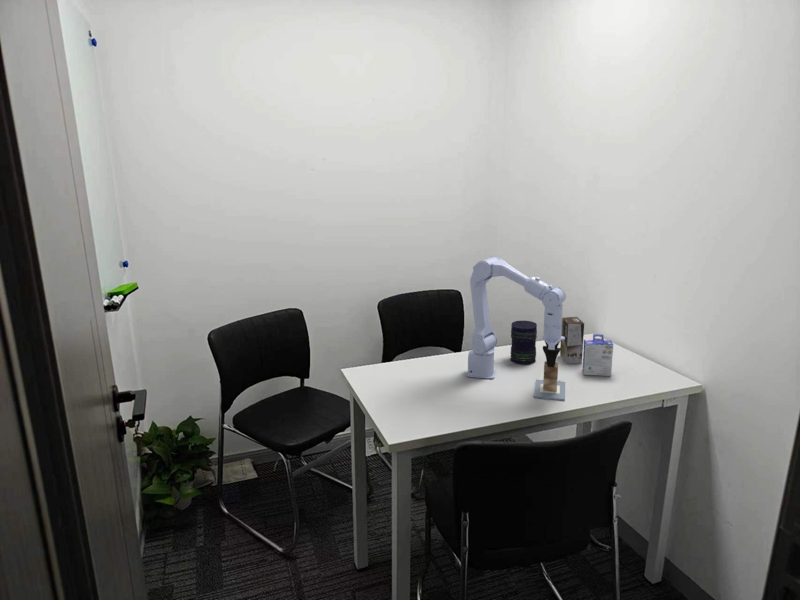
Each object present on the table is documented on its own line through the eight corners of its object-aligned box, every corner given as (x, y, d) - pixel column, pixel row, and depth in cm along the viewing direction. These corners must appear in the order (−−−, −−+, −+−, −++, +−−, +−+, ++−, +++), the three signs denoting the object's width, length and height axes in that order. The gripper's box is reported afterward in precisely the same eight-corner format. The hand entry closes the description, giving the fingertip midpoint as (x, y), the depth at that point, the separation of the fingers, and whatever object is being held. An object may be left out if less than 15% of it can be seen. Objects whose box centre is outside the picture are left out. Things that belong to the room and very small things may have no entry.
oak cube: (543, 390, 183) (543, 378, 181) (543, 385, 187) (544, 373, 186) (556, 392, 181) (557, 379, 180) (557, 386, 186) (557, 374, 184)
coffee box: (582, 363, 206) (585, 323, 202) (565, 363, 206) (567, 324, 202) (575, 354, 215) (577, 316, 211) (559, 355, 215) (561, 316, 211)
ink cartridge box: (609, 370, 199) (612, 333, 195) (612, 376, 194) (614, 338, 190) (581, 369, 201) (583, 332, 197) (583, 375, 196) (585, 337, 192)
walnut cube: (543, 378, 181) (544, 366, 180) (544, 373, 186) (544, 361, 184) (557, 379, 180) (558, 367, 179) (557, 374, 184) (558, 362, 183)
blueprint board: (533, 397, 179) (533, 396, 179) (536, 381, 192) (536, 379, 192) (565, 400, 176) (565, 398, 176) (565, 383, 189) (565, 381, 189)
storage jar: (540, 363, 208) (541, 326, 204) (517, 366, 206) (517, 329, 202) (528, 354, 217) (529, 319, 213) (506, 357, 215) (506, 321, 211)
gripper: (565, 332, 170) (563, 371, 174) (565, 318, 183) (563, 355, 187) (542, 330, 172) (540, 369, 176) (544, 317, 185) (542, 354, 189)
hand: (551, 362), depth 182 cm, fingers open, 7 cm apart
